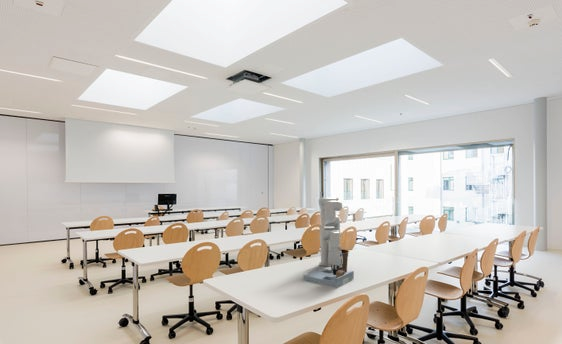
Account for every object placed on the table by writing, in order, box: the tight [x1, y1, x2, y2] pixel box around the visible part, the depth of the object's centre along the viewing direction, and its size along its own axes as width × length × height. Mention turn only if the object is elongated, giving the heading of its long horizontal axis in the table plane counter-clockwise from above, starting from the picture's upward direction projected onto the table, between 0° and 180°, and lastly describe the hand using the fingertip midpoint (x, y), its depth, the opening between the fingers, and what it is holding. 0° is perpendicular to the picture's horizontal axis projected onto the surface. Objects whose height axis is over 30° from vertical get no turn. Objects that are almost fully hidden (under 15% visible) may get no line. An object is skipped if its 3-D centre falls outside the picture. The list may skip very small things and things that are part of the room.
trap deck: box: [303, 268, 355, 288], centre depth 225 cm, size 24×28×6 cm
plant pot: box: [328, 248, 350, 273], centre depth 245 cm, size 16×16×16 cm
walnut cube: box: [336, 270, 345, 278], centre depth 218 cm, size 4×4×4 cm
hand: (335, 274), depth 221 cm, fingers closed
